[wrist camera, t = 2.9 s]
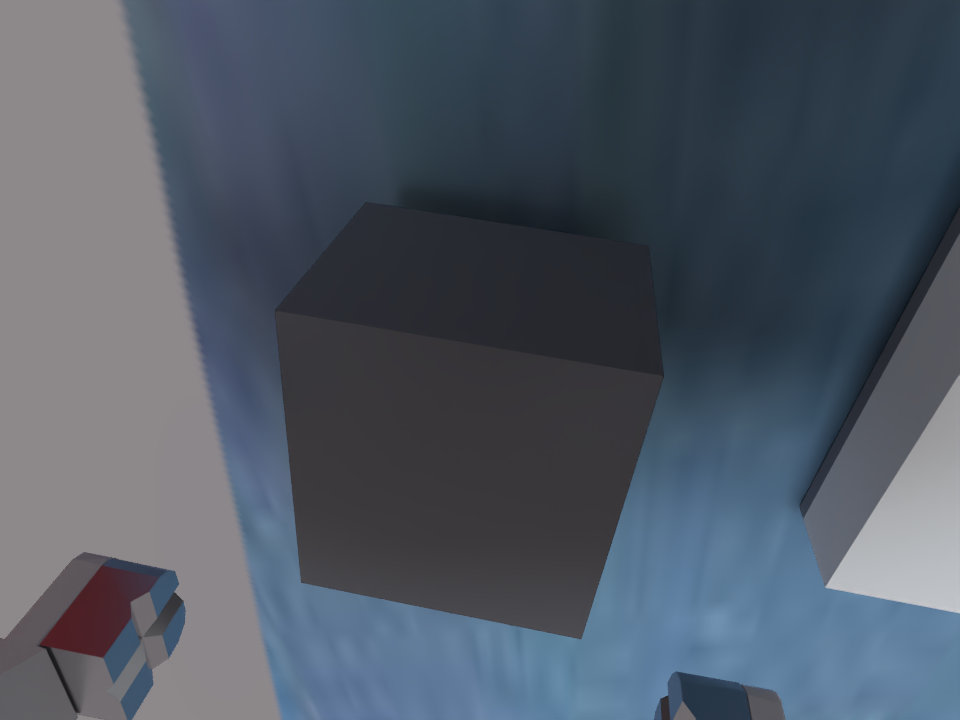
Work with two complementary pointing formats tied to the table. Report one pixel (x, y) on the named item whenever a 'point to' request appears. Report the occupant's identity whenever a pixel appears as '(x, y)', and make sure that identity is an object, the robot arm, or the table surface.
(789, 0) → the table surface
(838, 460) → the socket
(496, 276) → the plug
